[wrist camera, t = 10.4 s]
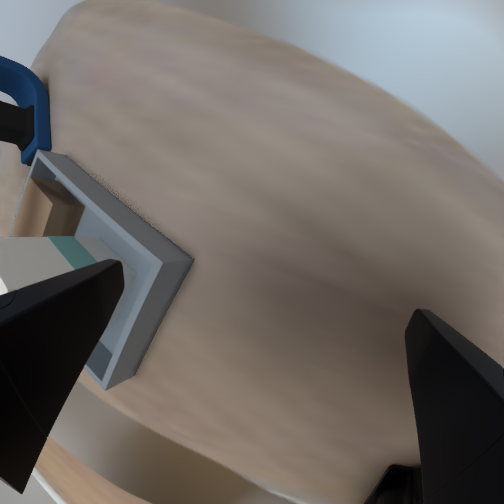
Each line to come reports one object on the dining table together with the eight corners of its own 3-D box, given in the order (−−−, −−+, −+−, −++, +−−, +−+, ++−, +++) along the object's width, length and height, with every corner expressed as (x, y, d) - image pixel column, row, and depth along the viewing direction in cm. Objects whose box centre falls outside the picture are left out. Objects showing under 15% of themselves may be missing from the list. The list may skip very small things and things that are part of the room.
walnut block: (85, 207, 27) (52, 204, 23) (61, 275, 28) (30, 279, 25) (58, 180, 28) (29, 176, 24) (37, 244, 30) (9, 245, 26)
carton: (137, 272, 25) (8, 289, 13) (115, 323, 26) (0, 356, 14) (99, 236, 26) (-20, 236, 15) (80, 285, 27) (-28, 301, 16)
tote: (194, 259, 23) (163, 262, 20) (133, 375, 26) (104, 390, 22) (65, 155, 29) (37, 149, 25) (31, 255, 31) (5, 256, 28)
